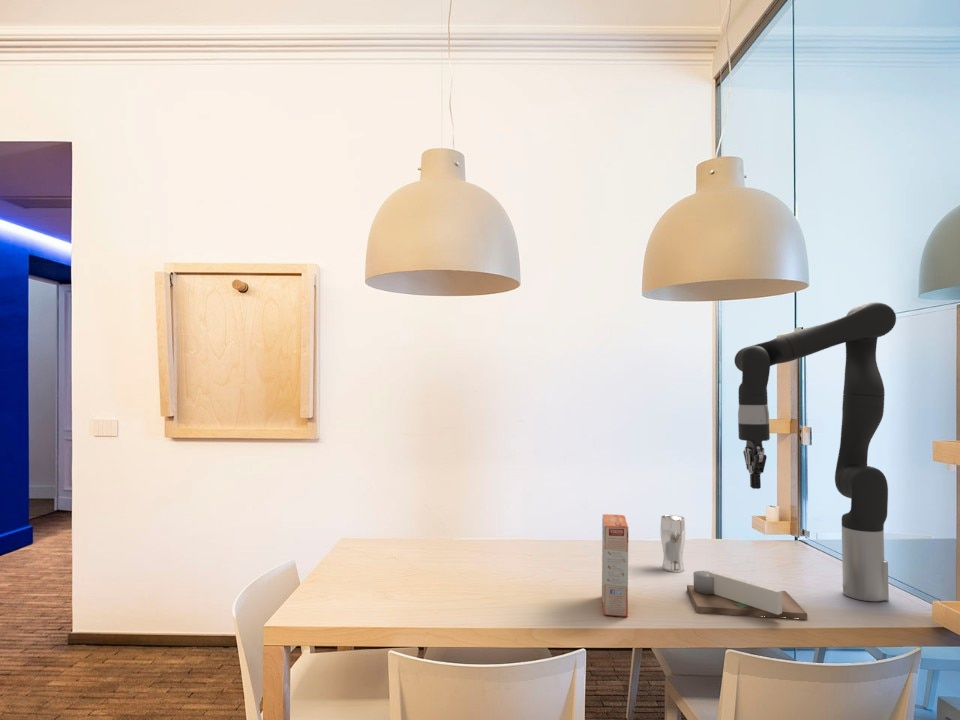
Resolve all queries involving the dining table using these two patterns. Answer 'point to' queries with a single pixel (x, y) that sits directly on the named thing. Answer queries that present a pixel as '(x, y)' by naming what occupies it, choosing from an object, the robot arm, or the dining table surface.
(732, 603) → the brown wooden board
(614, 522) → the cracker box
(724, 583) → the lever handle
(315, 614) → the dining table surface
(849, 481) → the robot arm
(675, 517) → the beer glass
